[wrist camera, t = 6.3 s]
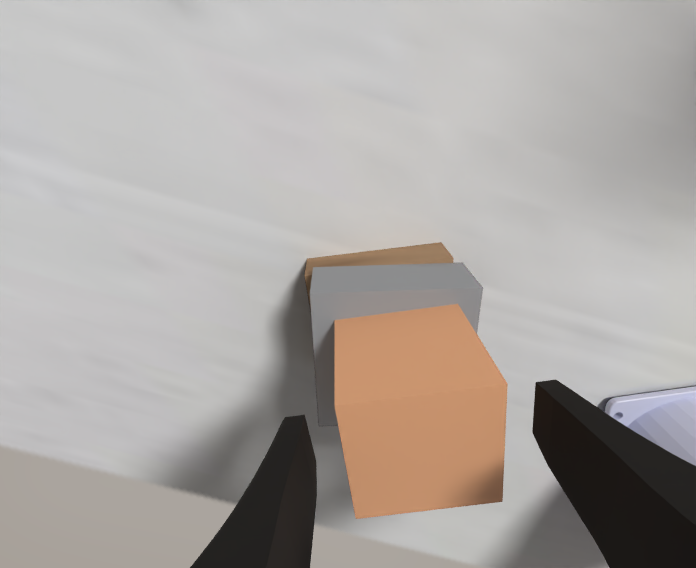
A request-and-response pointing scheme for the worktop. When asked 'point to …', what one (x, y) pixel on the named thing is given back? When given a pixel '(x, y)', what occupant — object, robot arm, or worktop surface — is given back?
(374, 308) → the slate slab
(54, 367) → the worktop surface
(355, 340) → the terracotta cube
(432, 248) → the walnut slab
